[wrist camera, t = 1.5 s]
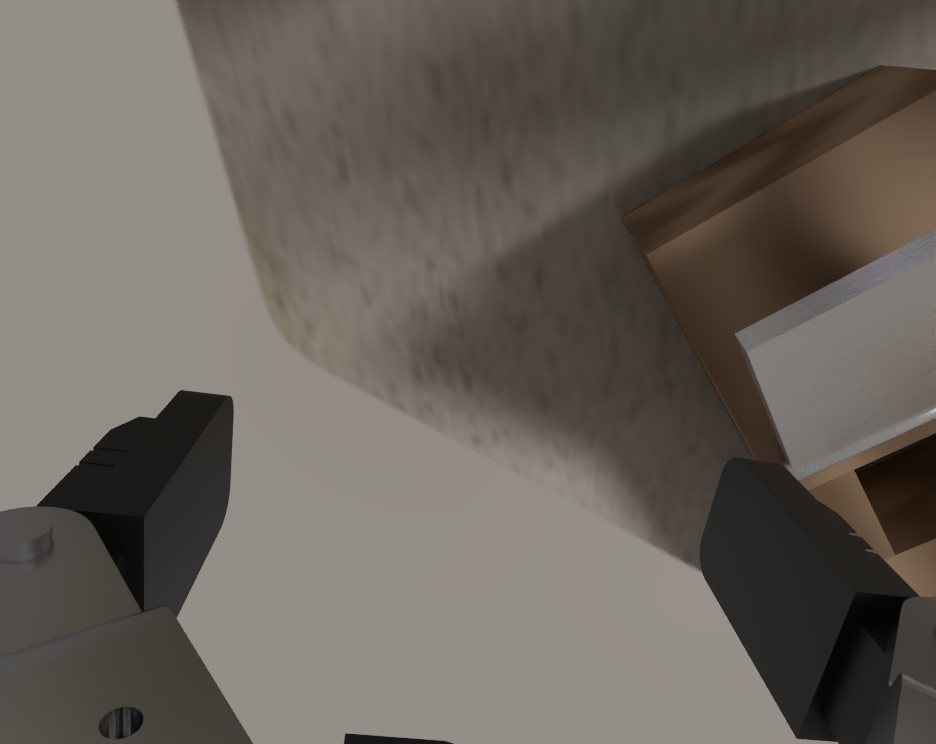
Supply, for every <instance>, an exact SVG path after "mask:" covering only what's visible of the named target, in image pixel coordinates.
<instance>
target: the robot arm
mask: <svg viewBox="0 0 936 744" xmlns="http://www.w3.org/2000/svg"><path fill="white" fill-rule="evenodd" d="M232 435H233V400H232V398H231V396H226V395H218V394H209V393H201V392H192V391H184V390H181V391H179V392H178V393H177V394H176V396H175V397H174V398H173V399H172V400H171V401H170V402H169V403H168V405H167V406H166V407H165V408H164V409H163V410H162V411H161V413H160V414H159V415H158V416H157V417H156V418H147V417H138V418H135V419H133V420H131V421H129V422H127V423H124V424H122V425H120V426H118V427H116V428H113V429H111V430H110V431H109V432H108V433H107V434H106V435H105V436H104V437H103V438H102V439H101V440H100V441H99V442H98V443H97V444H96V445H95V446H94V449H93V451H89V453H87V454H86V455H85V457H84V458H83V459H82V460H81V461H80V463H79V466H77V465H76V466H75V467H74V468H73V469H72V470H71V471H70V472H69V473H68V474H67V475H66V476H65V477H64V478H63V479H62V480H61V481H60V482H59V483H58V484H57V485H56V486H55V488H53V489H52V490H51V491H50V492H49V493H48V494H47V495H46V496H45V498H44V499H43V500H42V501H41V502H40V503H39V504H38V505H37V506H36V507H24V508H16V509H10V510H6V511H2V512H0V744H253V743H252V741H251V740H250V738H249V736H248V735H247V733H246V731H245V730H244V728H243V726H242V725H241V723H240V722H239V720H238V718H237V717H236V715H235V713H234V712H233V710H232V709H231V707H230V705H229V704H228V702H227V700H226V699H225V697H224V695H223V694H222V692H221V690H220V689H219V688H218V686H217V684H216V682H215V681H214V679H213V677H212V676H211V674H210V673H209V671H208V669H207V668H206V666H205V664H204V663H203V661H202V659H201V658H200V656H199V655H198V653H197V651H196V650H195V648H194V646H193V645H192V644H191V641H190V640H189V638H188V637H187V635H186V633H185V632H184V630H183V628H182V627H181V625H180V623H179V622H178V620H177V619H176V618H177V616H178V614H179V612H180V610H181V608H182V606H183V604H184V602H185V600H186V598H187V596H188V594H189V591H190V589H191V588H192V586H193V584H194V582H195V579H196V577H197V575H198V573H199V571H200V569H201V567H202V565H203V563H204V561H205V559H206V557H207V555H208V553H209V551H210V549H211V547H212V545H213V543H214V541H215V539H216V537H217V535H218V533H219V531H220V529H221V527H222V524H223V521H224V518H225V514H226V510H227V506H228V501H229V492H230V479H231V457H232ZM700 564H701V569H702V573H703V576H704V578H705V580H706V581H707V583H708V585H709V586H710V588H711V590H712V592H713V594H714V595H715V597H716V599H717V601H718V602H719V604H720V606H721V607H722V609H723V611H724V613H725V615H726V616H727V618H728V620H729V621H730V623H731V625H732V627H733V628H734V630H735V632H736V634H737V635H738V637H739V639H740V641H741V642H742V644H743V646H744V647H745V649H746V651H747V653H748V655H749V656H750V658H751V659H752V662H753V663H754V665H755V667H756V669H757V670H758V672H759V674H760V675H761V677H762V679H763V681H764V682H765V684H766V686H767V688H768V689H769V691H770V693H771V695H772V696H773V698H774V700H775V702H776V703H777V705H778V706H779V709H780V710H781V712H782V714H783V716H784V717H785V719H786V721H787V723H788V724H789V726H790V728H791V730H792V731H793V733H794V735H795V736H796V738H797V739H808V740H820V741H833V742H838V743H839V744H936V598H933V597H920V596H919V595H918V594H917V593H916V592H915V591H914V590H913V589H912V588H911V587H910V586H909V585H908V584H907V583H906V582H905V581H904V580H903V579H902V578H901V577H900V576H899V575H898V574H897V573H896V572H895V571H894V570H893V569H892V567H891V566H890V565H889V564H888V563H887V562H886V561H885V560H884V559H883V558H882V557H881V556H880V555H879V554H878V553H873V548H872V547H871V546H870V545H869V544H868V543H867V542H866V541H865V540H864V539H863V538H862V537H858V536H857V532H856V531H855V530H854V529H853V528H852V527H851V526H850V525H849V524H848V523H847V522H846V521H845V520H844V519H843V518H842V517H841V516H840V515H839V514H838V513H837V512H835V511H834V510H832V509H830V508H829V507H827V506H826V505H824V504H823V503H821V502H819V501H818V500H816V499H815V498H814V496H813V495H812V494H811V493H810V492H809V491H808V490H807V489H806V488H805V487H804V486H803V485H802V484H801V483H800V482H799V481H798V480H797V479H796V478H795V477H794V476H793V475H792V474H791V473H790V472H789V471H788V470H787V469H786V468H785V467H784V466H783V465H782V464H781V463H778V462H770V461H762V460H753V459H745V458H736V457H734V458H732V459H730V460H729V461H728V462H727V463H726V465H725V467H724V469H723V471H722V474H721V477H720V481H719V484H718V487H717V490H716V494H715V497H714V500H713V503H712V507H711V510H710V513H709V516H708V520H707V523H706V526H705V530H704V533H703V536H702V540H701V545H700ZM344 744H453V743H449V742H446V741H437V740H424V739H410V738H396V737H384V736H371V735H357V734H345V741H344Z"/></svg>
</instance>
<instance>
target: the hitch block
mask: <svg viewBox="0 0 936 744" xmlns="http://www.w3.org/2000/svg"><path fill="white" fill-rule="evenodd" d="M621 219H622V221H623V223H624V224H625V226H626V228H627V230H628V232H629V234H630V235H631V237H632V239H633V241H634V243H635V244H636V246H637V248H638V250H639V252H640V254H641V255H642V257H643V259H644V261H645V263H646V265H647V266H648V268H649V270H650V272H651V274H652V276H653V277H654V279H655V281H656V283H657V285H658V287H659V288H660V290H661V292H662V294H663V296H664V298H665V299H666V301H667V303H668V305H669V307H670V309H671V310H672V312H673V314H674V316H675V318H676V319H677V321H678V323H679V325H680V327H681V329H682V330H683V332H684V334H685V336H686V338H687V340H688V341H689V343H690V345H691V347H692V349H693V351H694V352H695V354H696V356H697V358H698V360H699V362H700V363H701V365H702V367H703V369H704V371H705V373H706V374H707V376H708V378H709V380H710V382H711V383H712V385H713V387H714V389H715V391H716V393H717V394H718V396H719V398H720V400H721V402H722V404H723V405H724V407H725V409H726V411H727V413H728V415H729V416H730V418H731V420H732V422H733V424H734V426H735V427H736V429H737V431H738V433H739V435H740V437H741V438H742V440H743V442H744V444H745V446H746V448H747V449H748V451H749V453H750V455H751V457H752V458H753V460H762V461H770V462H778V463H781V464H782V462H783V461H785V460H786V459H785V456H784V454H783V451H782V449H781V446H780V444H779V441H778V439H777V437H776V434H775V432H774V429H773V427H772V424H771V422H770V419H769V417H768V414H767V412H766V409H765V407H764V405H763V402H762V400H761V397H760V395H759V392H758V390H757V387H756V385H755V382H754V380H753V377H752V375H751V373H750V370H749V368H748V365H747V363H746V360H745V358H744V355H743V353H742V350H741V348H740V346H739V343H738V341H737V338H736V336H735V333H737V332H739V331H741V330H743V329H745V328H747V327H748V326H750V325H752V324H754V323H756V322H758V321H760V320H762V319H764V318H766V317H768V316H770V315H772V314H773V313H775V312H777V311H779V310H781V309H783V308H785V307H787V306H789V305H791V304H793V303H795V302H797V301H798V300H800V299H802V298H804V297H806V296H808V295H810V294H812V293H814V292H816V291H818V290H820V289H822V288H823V287H825V286H827V285H829V284H831V283H833V282H835V281H837V280H839V279H841V278H843V277H845V276H847V275H849V274H850V273H852V272H854V271H856V270H858V269H860V268H862V267H864V266H866V265H868V264H870V263H872V262H874V261H875V260H877V259H879V258H881V257H883V256H885V255H887V254H889V253H891V252H893V251H895V250H897V249H899V248H900V247H902V246H904V245H906V244H908V243H910V242H912V241H914V240H916V239H918V238H920V237H922V236H924V235H925V234H927V233H929V232H931V231H933V230H935V229H936V70H928V69H916V68H905V67H893V66H879V67H878V68H876V69H874V70H872V71H871V72H869V73H867V74H866V75H864V76H862V77H860V78H859V79H857V80H855V81H854V82H852V83H850V84H849V85H847V86H845V87H843V88H842V89H840V90H838V91H837V92H835V93H833V94H832V95H830V96H828V97H826V98H825V99H823V100H821V101H820V102H818V103H816V104H814V105H813V106H811V107H809V108H808V109H806V110H804V111H803V112H801V113H799V114H797V115H796V116H794V117H792V118H791V119H789V120H787V121H786V122H784V123H782V124H780V125H779V126H777V127H775V128H774V129H772V130H770V131H768V132H767V133H765V134H763V135H762V136H760V137H758V138H757V139H755V140H753V141H751V142H750V143H748V144H746V145H745V146H743V147H741V148H740V149H738V150H736V151H734V152H733V153H731V154H729V155H728V156H726V157H724V158H722V159H721V160H719V161H717V162H716V163H714V164H712V165H711V166H709V167H707V168H705V169H704V170H702V171H700V172H699V173H697V174H695V175H694V176H692V177H690V178H688V179H687V180H685V181H683V182H682V183H680V184H678V185H676V186H675V187H673V188H671V189H670V190H668V191H666V192H665V193H663V194H661V195H659V196H658V197H656V198H654V199H653V200H651V201H649V202H648V203H646V204H644V205H642V206H641V207H639V208H637V209H636V210H634V211H632V212H630V213H629V214H627V215H625V216H624V217H622V218H621ZM935 433H936V419H935V420H933V421H930V422H928V423H926V424H924V425H922V426H919V427H917V428H915V429H913V430H911V431H908V432H906V433H904V434H902V435H900V436H897V437H895V438H893V439H891V440H889V441H886V442H884V443H882V444H880V445H878V446H875V447H873V448H871V449H869V450H867V451H864V452H862V453H860V454H858V455H856V456H853V457H851V458H849V459H847V460H845V461H842V462H840V463H838V464H836V465H834V466H831V467H829V468H827V469H825V470H823V471H820V472H818V473H816V474H814V475H812V476H809V477H807V478H805V479H803V480H801V481H799V482H800V483H801V484H802V485H803V486H804V487H805V488H806V489H807V490H808V491H809V492H810V493H811V494H812V495H813V496H814V498H815V499H816V500H818V501H819V502H821V503H823V504H824V505H826V506H827V507H829V508H830V509H832V510H834V511H835V512H837V513H838V514H839V515H840V516H841V517H842V518H843V519H844V520H845V521H846V522H847V523H848V524H849V525H850V526H851V527H852V528H853V529H854V530H855V531H856V532H857V536H858V537H862V538H863V539H864V540H865V541H866V542H867V543H868V544H869V545H870V546H871V547H872V548H873V553H878V554H879V555H880V556H881V557H882V558H883V559H884V560H885V561H886V562H887V563H888V564H889V565H890V566H891V567H892V569H893V570H894V571H895V572H896V573H897V574H898V575H899V576H900V577H901V578H902V579H903V580H904V581H905V582H906V583H907V584H908V585H909V586H910V587H911V588H912V589H913V590H914V591H915V592H916V593H917V594H918V595H919V596H920V597H935V596H936V438H935V439H933V440H931V441H928V442H926V443H924V444H922V445H920V446H917V447H915V448H913V449H911V450H908V451H906V452H904V453H902V454H899V455H897V456H895V457H893V458H891V459H888V460H886V461H884V462H882V463H879V464H877V465H875V466H873V467H870V468H868V469H866V470H864V471H862V472H859V473H857V474H856V473H855V471H854V470H855V469H857V468H859V467H861V466H864V465H866V464H868V463H870V462H872V461H875V460H877V459H879V458H881V457H884V456H886V455H888V454H890V453H892V452H895V451H897V450H899V449H901V448H904V447H906V446H908V445H910V444H912V443H915V442H917V441H919V440H921V439H924V438H926V437H928V436H930V435H932V434H935ZM782 465H783V464H782Z"/></svg>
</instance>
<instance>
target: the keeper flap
mask: <svg viewBox="0 0 936 744" xmlns="http://www.w3.org/2000/svg"><path fill="white" fill-rule="evenodd" d="M735 336H736V338H737V341H738V343H739V346H740V348H741V350H742V353H743V355H744V358H745V360H746V363H747V365H748V368H749V370H750V373H751V375H752V377H753V380H754V382H755V385H756V387H757V390H758V392H759V395H760V397H761V400H762V402H763V405H764V407H765V409H766V412H767V414H768V417H769V419H770V422H771V424H772V427H773V429H774V432H775V434H776V437H777V439H778V441H779V444H780V446H781V449H782V451H783V454H784V456H785V459H786V460H785V461H783V462H782V464H783V466H784V467H785V468H786V469H787V470H788V471H789V472H790V473H791V474H792V475H793V476H794V477H795V478H796V479H797V480H798V481H801V480H803V479H805V478H807V477H809V476H812V475H814V474H816V473H818V472H820V471H823V470H825V469H827V468H829V467H831V466H834V465H836V464H838V463H840V462H842V461H845V460H847V459H849V458H851V457H853V456H856V455H858V454H860V453H862V452H864V451H867V450H869V449H871V448H873V447H875V446H878V445H880V444H882V443H884V442H886V441H889V440H891V439H893V438H895V437H897V436H900V435H902V434H904V433H906V432H908V431H911V430H913V429H915V428H917V427H919V426H922V425H924V424H926V423H928V422H930V421H933V420H935V419H936V229H935V230H933V231H931V232H929V233H927V234H925V235H924V236H922V237H920V238H918V239H916V240H914V241H912V242H910V243H908V244H906V245H904V246H902V247H900V248H899V249H897V250H895V251H893V252H891V253H889V254H887V255H885V256H883V257H881V258H879V259H877V260H875V261H874V262H872V263H870V264H868V265H866V266H864V267H862V268H860V269H858V270H856V271H854V272H852V273H850V274H849V275H847V276H845V277H843V278H841V279H839V280H837V281H835V282H833V283H831V284H829V285H827V286H825V287H823V288H822V289H820V290H818V291H816V292H814V293H812V294H810V295H808V296H806V297H804V298H802V299H800V300H798V301H797V302H795V303H793V304H791V305H789V306H787V307H785V308H783V309H781V310H779V311H777V312H775V313H773V314H772V315H770V316H768V317H766V318H764V319H762V320H760V321H758V322H756V323H754V324H752V325H750V326H748V327H747V328H745V329H743V330H741V331H739V332H737V333H735Z"/></svg>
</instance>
